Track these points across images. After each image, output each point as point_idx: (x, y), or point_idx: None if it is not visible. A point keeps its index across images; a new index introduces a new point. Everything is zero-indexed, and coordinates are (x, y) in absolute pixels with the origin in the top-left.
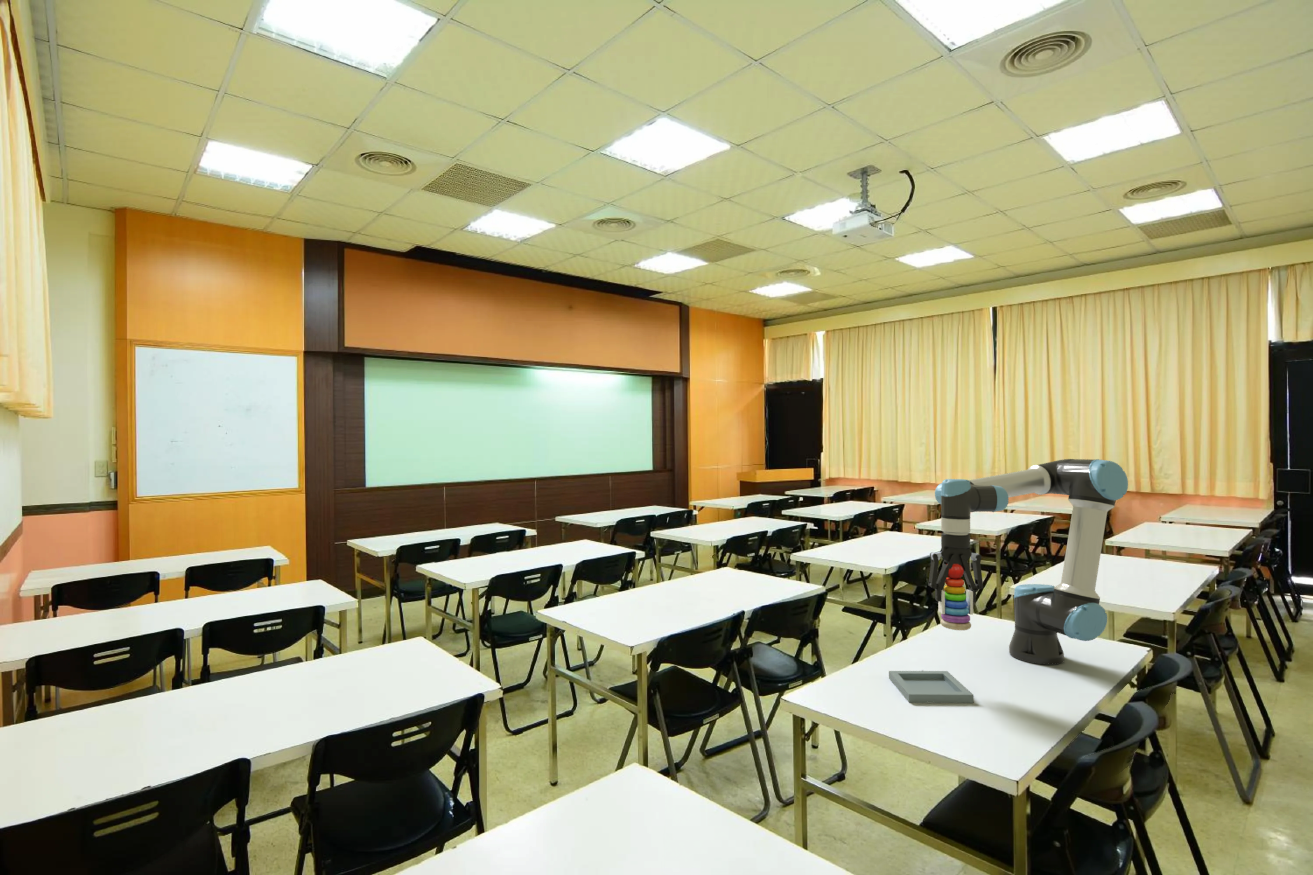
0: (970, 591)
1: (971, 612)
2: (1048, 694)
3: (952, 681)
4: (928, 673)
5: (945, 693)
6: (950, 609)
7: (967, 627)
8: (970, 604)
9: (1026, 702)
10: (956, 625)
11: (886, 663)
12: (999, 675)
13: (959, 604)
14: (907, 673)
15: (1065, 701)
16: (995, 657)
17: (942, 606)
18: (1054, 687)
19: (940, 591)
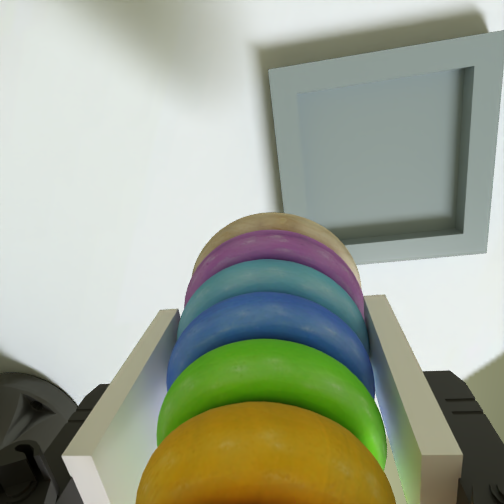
0: (88, 461)
1: (165, 316)
2: (43, 176)
3: (301, 183)
4: (357, 244)
5: (362, 63)
6: (332, 297)
7: (225, 227)
8: (149, 354)
9: (112, 104)
10: (294, 222)
11: (434, 355)
12: (141, 297)
13: (258, 303)
14: (429, 236)
15: (8, 130)
16: None
17: (397, 327)
18: (20, 229)
19: (466, 466)
